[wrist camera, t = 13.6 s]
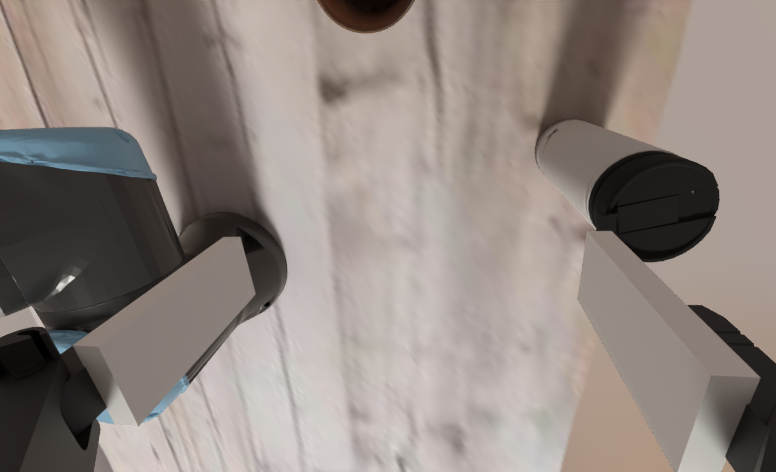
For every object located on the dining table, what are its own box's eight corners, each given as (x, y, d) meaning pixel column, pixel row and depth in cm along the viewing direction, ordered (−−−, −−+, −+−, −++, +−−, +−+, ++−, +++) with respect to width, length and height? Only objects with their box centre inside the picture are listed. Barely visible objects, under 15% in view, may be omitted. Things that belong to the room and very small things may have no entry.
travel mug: (527, 128, 38) (596, 178, 20) (596, 111, 36) (740, 148, 18) (534, 185, 40) (603, 276, 22) (600, 171, 38) (732, 257, 20)
